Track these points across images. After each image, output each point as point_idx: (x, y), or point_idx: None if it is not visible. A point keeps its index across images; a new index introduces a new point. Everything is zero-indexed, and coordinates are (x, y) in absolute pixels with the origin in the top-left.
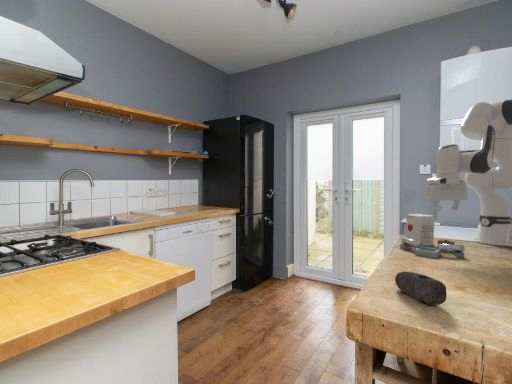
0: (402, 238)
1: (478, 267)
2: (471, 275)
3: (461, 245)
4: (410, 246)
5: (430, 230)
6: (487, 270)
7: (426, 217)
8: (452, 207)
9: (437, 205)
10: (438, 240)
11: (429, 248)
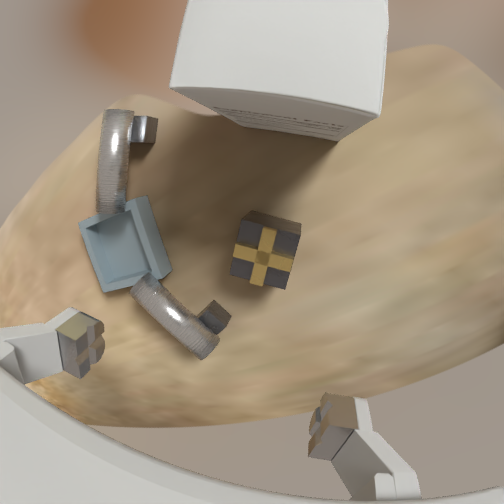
0: (104, 113)
1: (147, 386)
2: (85, 385)
3: (196, 353)
4: (143, 142)
5: (311, 127)
6: (145, 402)
7: (248, 95)
8: (326, 415)
9: (33, 361)
10: (241, 224)
11: (141, 238)
